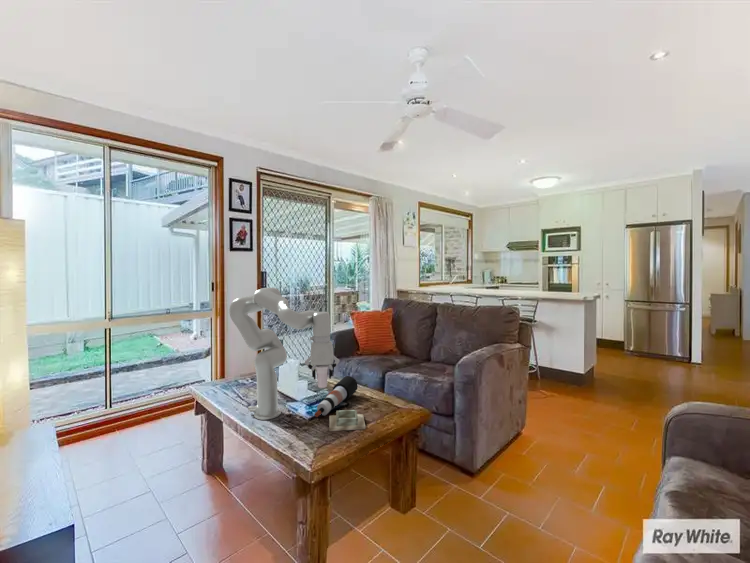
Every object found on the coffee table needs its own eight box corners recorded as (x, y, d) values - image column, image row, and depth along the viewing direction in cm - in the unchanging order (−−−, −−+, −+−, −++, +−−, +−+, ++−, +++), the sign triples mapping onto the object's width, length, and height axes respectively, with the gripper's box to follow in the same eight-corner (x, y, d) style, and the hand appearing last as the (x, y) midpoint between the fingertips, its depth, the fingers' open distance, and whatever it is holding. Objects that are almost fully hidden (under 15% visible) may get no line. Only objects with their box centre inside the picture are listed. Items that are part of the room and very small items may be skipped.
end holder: (329, 430, 157) (329, 421, 157) (329, 418, 170) (329, 409, 170) (365, 428, 159) (365, 419, 159) (362, 416, 172) (362, 407, 172)
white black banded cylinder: (313, 427, 170) (303, 408, 170) (346, 395, 201) (338, 379, 201) (329, 422, 166) (319, 402, 166) (360, 390, 196) (352, 373, 197)
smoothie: (326, 383, 166) (326, 353, 165) (331, 387, 160) (331, 356, 160) (313, 385, 163) (313, 355, 162) (318, 389, 157) (317, 358, 157)
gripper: (301, 341, 156) (302, 381, 157) (341, 340, 158) (341, 380, 159) (303, 338, 163) (303, 376, 164) (340, 336, 165) (341, 374, 166)
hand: (322, 377), depth 162 cm, fingers closed on smoothie, 6 cm apart
